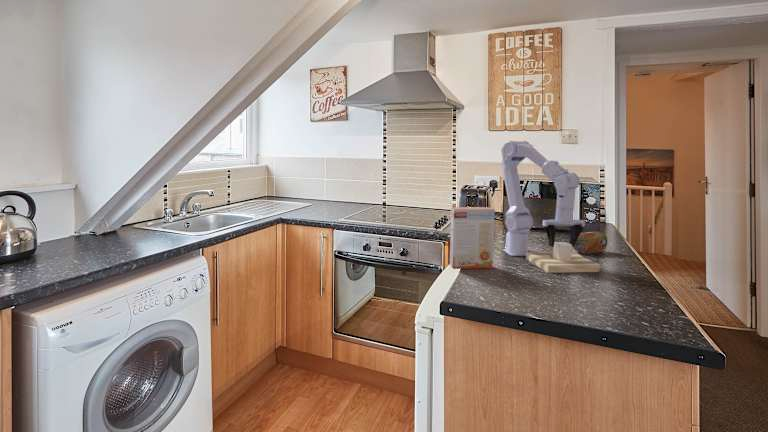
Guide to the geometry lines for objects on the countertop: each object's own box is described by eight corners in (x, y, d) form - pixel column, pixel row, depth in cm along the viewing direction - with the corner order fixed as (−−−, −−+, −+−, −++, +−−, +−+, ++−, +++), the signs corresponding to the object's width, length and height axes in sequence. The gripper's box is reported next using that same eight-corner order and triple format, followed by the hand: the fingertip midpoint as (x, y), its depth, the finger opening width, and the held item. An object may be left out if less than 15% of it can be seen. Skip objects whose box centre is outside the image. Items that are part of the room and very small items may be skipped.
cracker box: (487, 264, 150) (490, 206, 147) (492, 269, 144) (495, 208, 141) (448, 264, 149) (450, 206, 146) (452, 269, 144) (454, 208, 140)
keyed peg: (558, 267, 147) (560, 244, 146) (550, 262, 153) (551, 241, 152) (570, 266, 148) (572, 244, 147) (561, 262, 153) (563, 241, 152)
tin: (575, 254, 166) (577, 233, 165) (570, 252, 169) (571, 232, 168) (607, 252, 170) (608, 231, 169) (601, 250, 173) (603, 230, 172)
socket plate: (525, 258, 158) (526, 252, 158) (571, 258, 160) (572, 251, 159) (547, 272, 140) (548, 265, 140) (599, 271, 142) (600, 264, 141)
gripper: (550, 209, 142) (547, 248, 144) (591, 209, 143) (587, 248, 146) (540, 206, 149) (538, 244, 151) (580, 206, 150) (576, 243, 153)
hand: (561, 246), depth 149 cm, fingers open, 7 cm apart
